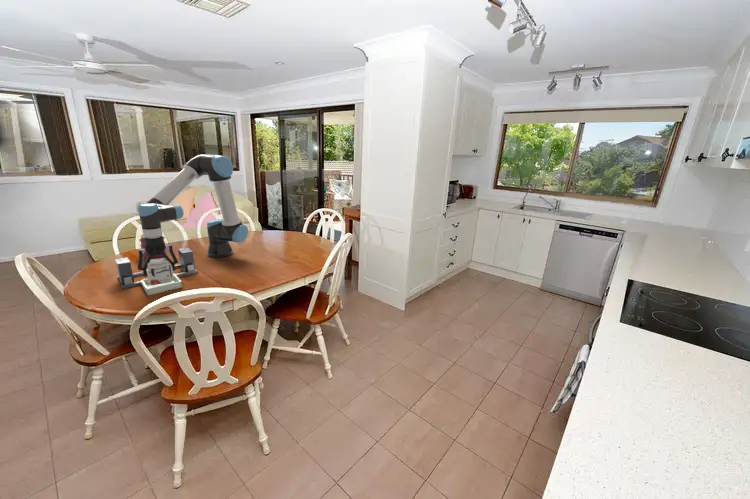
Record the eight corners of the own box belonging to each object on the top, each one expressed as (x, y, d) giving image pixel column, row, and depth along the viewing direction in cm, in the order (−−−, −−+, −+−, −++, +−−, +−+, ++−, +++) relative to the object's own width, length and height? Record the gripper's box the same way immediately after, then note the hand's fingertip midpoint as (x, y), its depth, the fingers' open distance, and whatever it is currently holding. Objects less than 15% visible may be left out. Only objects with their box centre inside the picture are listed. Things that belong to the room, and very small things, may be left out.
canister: (144, 261, 187) (138, 233, 182) (141, 255, 196) (136, 228, 191) (169, 257, 195) (164, 230, 190) (165, 252, 204) (161, 226, 199)
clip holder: (190, 265, 185) (187, 246, 181) (198, 272, 175) (195, 252, 171) (117, 279, 162) (112, 257, 158) (122, 288, 152) (117, 266, 148)
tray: (174, 278, 166) (174, 272, 165) (182, 287, 156) (181, 281, 155) (141, 285, 156) (140, 279, 155) (147, 295, 146) (146, 289, 146)
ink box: (151, 285, 151) (146, 263, 148) (151, 281, 155) (147, 259, 152) (171, 282, 156) (167, 260, 152) (171, 278, 160) (167, 257, 156)
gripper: (177, 231, 158) (183, 272, 165) (123, 238, 143) (132, 282, 150) (181, 234, 153) (187, 276, 160) (125, 242, 138) (135, 287, 145)
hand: (161, 279), depth 155 cm, fingers closed on ink box, 9 cm apart
